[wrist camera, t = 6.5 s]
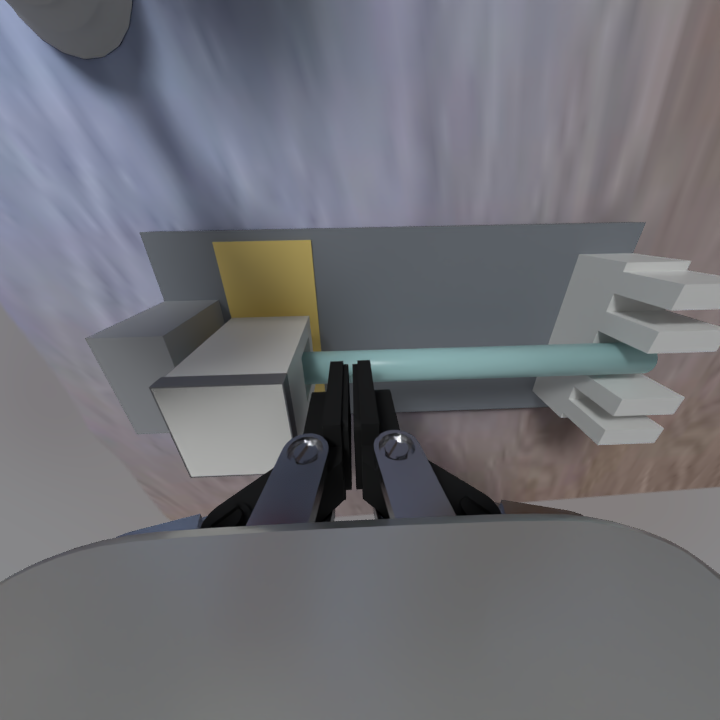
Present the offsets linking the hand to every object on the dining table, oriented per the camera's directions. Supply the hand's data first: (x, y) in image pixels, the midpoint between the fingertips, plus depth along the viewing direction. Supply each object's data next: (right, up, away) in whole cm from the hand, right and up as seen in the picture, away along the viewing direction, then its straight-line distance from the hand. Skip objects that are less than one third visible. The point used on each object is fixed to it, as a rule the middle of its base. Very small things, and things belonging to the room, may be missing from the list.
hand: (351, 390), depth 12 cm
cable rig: (+2, +3, +6) cm, 7 cm away
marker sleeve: (-4, +2, +3) cm, 6 cm away
